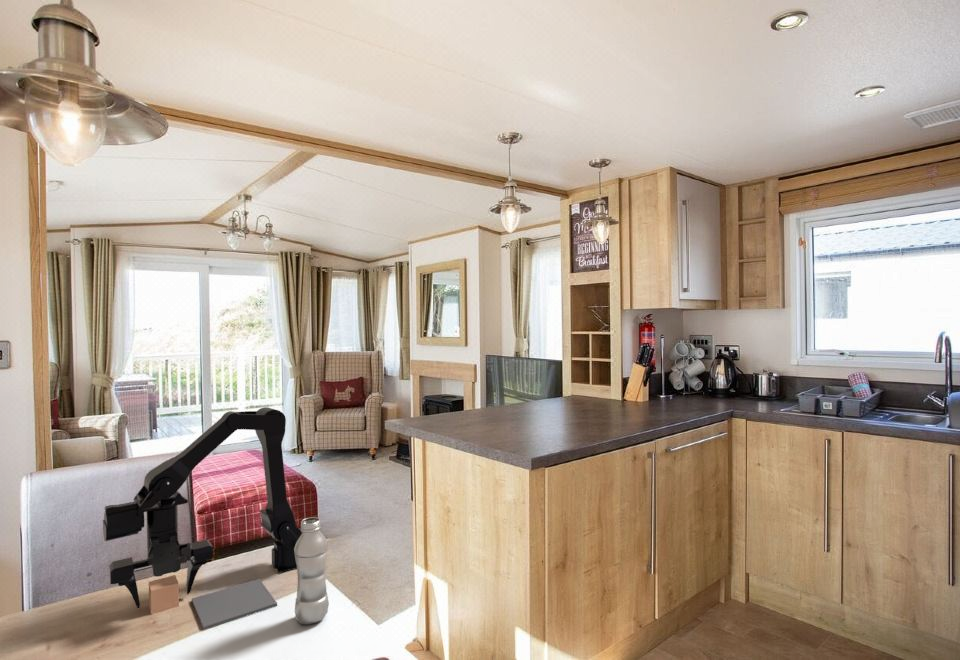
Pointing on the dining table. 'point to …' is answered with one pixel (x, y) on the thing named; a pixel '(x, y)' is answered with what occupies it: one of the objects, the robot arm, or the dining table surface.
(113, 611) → the dining table surface
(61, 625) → the dining table surface
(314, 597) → the plastic bottle
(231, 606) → the charcoal mat
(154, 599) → the peach block
